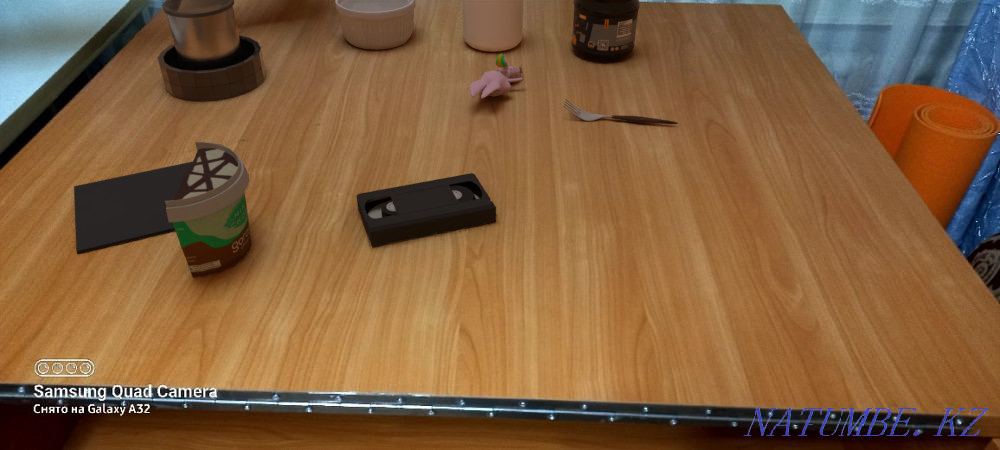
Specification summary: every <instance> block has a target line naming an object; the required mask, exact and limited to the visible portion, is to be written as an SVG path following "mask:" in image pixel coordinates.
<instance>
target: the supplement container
mask: <svg viewBox="0 0 1000 450" xmlns="http://www.w3.org/2000/svg"><path fill="white" fill-rule="evenodd" d="M640 6H641V2H640V0H573V7H574V8H573V19H572V33H571V34H572V36H571V42H570V45H571V48H572V50H573V52H574V53H575V54H576V55H578V56H579V57H580V58H583V59H586V60H588V61H593V62H601V63H609V62H610V63H611V62H617V61H621V60H624V59H627V58H628V57H630V56H631V55H632V54H633V52H634V50H635V47H636V46H635V45H636V44H635V42H636V32H637V24H638V15H639V9H640Z"/></svg>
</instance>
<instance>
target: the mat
mask: <svg viewBox="0 0 1000 450" xmlns="http://www.w3.org/2000/svg"><path fill="white" fill-rule="evenodd" d="M192 162H193V161H188V162H184V163H179V164H174V165H170V166H164V167H159V168H155V169H150V170H146V171H140V172H136V173H131V174H125V175H120V176H115V177H112V178H107V179H101V180H97V181H93V182H88V183H83V184H78V185H74V186H73V197H74V201H73V202H74V225H75V228H74V229H75V248H76V249H75V251H76V254H77V255H78V254H79V255H80V254H83V253H88V252H92V251H96V250H100V249H104V248H109V247H114V246H118V245H121V244H127V243H130V242H134V241H138V240H142V239H146V238H151V237H155V236H158V235H164V234H167V233H171V232H176V231H175V229H174V226H173V223H172V222H169V221H168V216H167V212H166V208H167V207H166V204H165V201H172V200H174V198H175V196H176V194H177V192H178V189H179V187H180V184H181V181H182V178H183V176H184V173H185V172H186V170H187V169H188V168H189V166H190V165H191V164H192Z"/></svg>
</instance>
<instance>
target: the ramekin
mask: <svg viewBox="0 0 1000 450" xmlns="http://www.w3.org/2000/svg"><path fill="white" fill-rule="evenodd" d="M334 3H335V10H336V11H337V13H338V18H339V23H340V28H341V32H342V35H343V37H344V39H345V40H346V41H347V42H348V44H350V45H352V46H353V47H356V48H360V49H363V50H374V51H375V50H376V51H377V50H388V49H393V48H396V47H400V46H402V45H404V44H405V43H407V41H409V39H410V38H411V36H412V34H413V31H414V17H415V8H416V0H334Z"/></svg>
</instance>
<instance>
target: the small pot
mask: <svg viewBox="0 0 1000 450" xmlns="http://www.w3.org/2000/svg"><path fill="white" fill-rule="evenodd" d="M234 5H235V0H165V1H164V2H162V5H161V7H162V11H163V12H164V13H165V14H166V17H167V21H168V25H169V29H170V32H171V36H172V41H173V44H175V48H176V52H177V56H178V60H179V64H180V68H181V70H190V71H204V70H214V69H220V68H225V67H229V66H232V65H235V64H238V63H240V62H242V61H244V58H243V53H242V48H241V44H240V39H239V35H240V34H239V30H238V25H237V19H236V15H235V10H234Z"/></svg>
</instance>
